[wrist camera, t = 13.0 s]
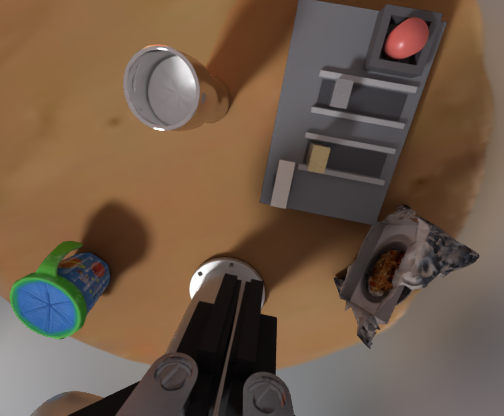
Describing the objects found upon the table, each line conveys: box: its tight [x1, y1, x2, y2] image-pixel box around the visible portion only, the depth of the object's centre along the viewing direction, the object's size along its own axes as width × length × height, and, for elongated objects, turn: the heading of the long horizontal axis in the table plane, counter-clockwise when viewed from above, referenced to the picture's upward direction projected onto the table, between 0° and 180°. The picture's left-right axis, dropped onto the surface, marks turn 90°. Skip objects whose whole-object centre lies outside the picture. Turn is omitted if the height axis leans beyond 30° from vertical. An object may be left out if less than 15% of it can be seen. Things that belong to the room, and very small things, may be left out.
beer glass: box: [123, 45, 230, 131], centre depth 30 cm, size 7×7×15 cm
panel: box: [260, 0, 447, 225], centre depth 34 cm, size 24×16×5 cm, turn 170°
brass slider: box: [306, 142, 331, 174], centre depth 32 cm, size 3×2×6 cm, turn 170°
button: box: [382, 17, 429, 62], centre depth 28 cm, size 3×3×4 cm
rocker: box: [270, 160, 295, 209], centre depth 35 cm, size 6×2×1 cm, turn 170°
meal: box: [334, 204, 479, 348], centre depth 35 cm, size 15×4×13 cm, turn 152°
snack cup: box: [10, 241, 110, 339], centre depth 43 cm, size 16×10×10 cm
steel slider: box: [328, 78, 354, 109], centre depth 31 cm, size 3×2×3 cm, turn 170°
